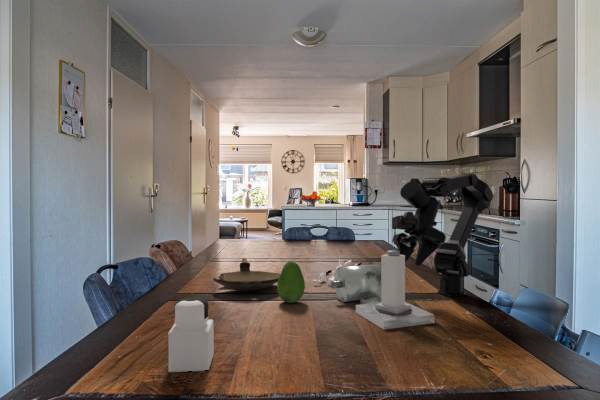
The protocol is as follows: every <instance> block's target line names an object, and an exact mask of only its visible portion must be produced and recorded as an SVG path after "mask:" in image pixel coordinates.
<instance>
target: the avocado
mask: <svg viewBox="0 0 600 400" xmlns="http://www.w3.org/2000/svg"><path fill="white" fill-rule="evenodd" d="M280 271H281V272H280V273H279V274H280V276H279V279H278V282H277V285H276V286H277V287H276V291H277V295H278V296H279V298H280V299H281V300H282V301H283V302H284V303H287V304H292V303H293V304H294V303H297V302H299V300H300V299H302V297H303V295H304V293H305V289H306V284H305V278H304V274H303V272H302V269H301V268H300V266H299V265H298V263H296V262H294V261H291V260H290V261H287V262H286V263H284V265H283V267H282V269H281V270H280Z"/></svg>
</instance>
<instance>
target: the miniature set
mask: <svg viewBox="0 0 600 400" xmlns="http://www.w3.org/2000/svg"><path fill="white" fill-rule="evenodd" d="M351 262H352V260H351V259H350V260H348V261H345V263H344V258H342V259H341V258H339V259H338V264H337V265H338V266H336V268H335V270H333V271H332V270H331V269H328V270H326V272H322V273H320V275H319V276H318V279H312V283H314V284H316V283H318V284H322V281H324V280H325V277H327V276H328V277H329V276H331V277H329V278H328V279H327V286H330V287H331V282H333V281H334V277H335V275H333V274H335V272H336V270H337V268H338V267H344V266H346V265H348V264H349V265H350V264H351ZM343 265H344V266H343ZM360 265H363V263H362V262H360V263H354V265H353V266H360ZM332 275H333V276H332Z"/></svg>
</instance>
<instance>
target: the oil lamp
mask: <svg viewBox="0 0 600 400" xmlns="http://www.w3.org/2000/svg"><path fill="white" fill-rule="evenodd" d="M250 268H251V263H250V262H248V259H247V258H246V257H243V258H242V259H241V262H239V271H231V272H230V271H229V272H222V273H220V274H219V276H218V277H217V278H215V277H213V279H212V280H213V281H214V282H215V283H217V284H219V285H221V286H223V287H226V288H228V289H230V290H235V291H239V292H243V291H244V292H249V291H260V290H263V289H266V288H268V287H270V286H272V285H275V284H276V283H278V279H279V276H280V274H281V273H278V272H272V271H271V272H270V271H258V270H251V269H250Z"/></svg>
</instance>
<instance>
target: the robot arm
mask: <svg viewBox="0 0 600 400" xmlns="http://www.w3.org/2000/svg"><path fill="white" fill-rule="evenodd" d="M421 181H422V182H421ZM421 181H420V179H419V178H418V177H416V178H415V177H412V178H411V179H410V181H408V182H406V183H405V184H404V185H403V186H402V187H401V189H400V191H399V192H400V196H401V198H403V200H404V201H406V202H407V203H408V204H409V205H410V206H411V207H412V208H414V209H416V210H415V213H414V212H413V211H405V212H404V213H403V214H402V215H396V216H394V217H391V229H392V230H404V231H403V232H400V233H397V234H394V235H393V236H392V240H391V242H392V243H393V244H394V246H395V247H396V248H397V251H400V255H405V264H406V263H407V262H408V260H409V258H410V257H411V256H412V255H413V253H414V252H415V248H416V247H417V243H418V249H417V252H416V258H415V262H414V264H415V266H417V267H419V266H421V265H422V264H423V263H424V262H425V261H427V259H428V258H429V257H430V256H431V255H432V254H433V253H434V252H435V255H434V257H433V263H434V267H435V272H436V273H437V274H440V279H439V290H437V292H438V293H439V294H441V295H442V294H443V295H444V296H445V295H446V297H447V296H448V297H454V298H455V297H461V296H468V294H469V293H467V292H465V278H466V277H468V276H470V273H471V272H470V271H471V267H470V266H469V264H468V262H467V261H466V259H467V255H466V252H465V247H466V244H467V243H468V240H469V237H470V236H471V233H472V230H473V229H474V226H475V223H476V222H477V219H478V216H479V215H480V213H482V212H483V211H484V210H486V209H487V208H488V207H489V206H490V204H491V202H492V201H493V199H494V198H493V197H494V193H493V191H492V189H491V188H490V186H489V185H488V183H486V182H485V181H483V180H481V179H480V178H479V177H478V175H477V174H474V173H461V174H459V175H454V176H448V177H446V176H445V177H444V176H443V177H440V176H439V177H425V178H423V179H422V180H421ZM459 189H460V190H459ZM455 190H459V194H460V195H461V197H462V198H461V199H462V202H463V203H462V204H463V208H462V210H461V213H460V215H459V217H458V219H457V221H456V224H455V226H454V229H453V231H452V233H451V235H450V237H449V239H448V241H447V242H446V239H447V236H446V234H445V232H443V231H442V230H440V229H437V228H435V227H436V226H437V225H438V222H436V221H435V220H436V218H437V215H438V212H439V211H440V210H441V211H442V210H443V209H444V206H443V203H441V200H440V199H439V200H438V199H437V198H446V197H447V196H448V195H451V194H452V191H455ZM408 234H409V235H408Z"/></svg>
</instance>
